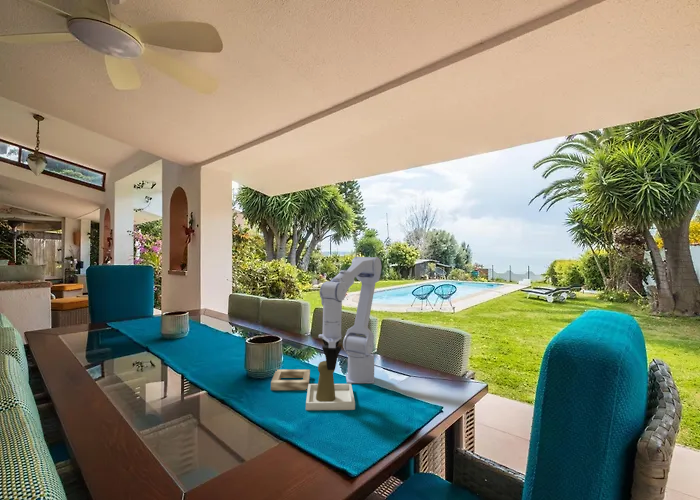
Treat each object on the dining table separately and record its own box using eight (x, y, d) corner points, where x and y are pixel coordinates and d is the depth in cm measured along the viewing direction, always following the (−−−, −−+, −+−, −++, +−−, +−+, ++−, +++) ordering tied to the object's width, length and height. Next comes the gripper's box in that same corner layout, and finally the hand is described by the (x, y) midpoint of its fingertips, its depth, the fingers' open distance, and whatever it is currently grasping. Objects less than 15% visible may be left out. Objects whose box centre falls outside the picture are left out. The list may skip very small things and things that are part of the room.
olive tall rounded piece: (330, 403, 99) (331, 366, 99) (312, 400, 101) (313, 363, 101) (338, 395, 104) (339, 360, 104) (321, 392, 106) (321, 357, 107)
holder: (309, 376, 121) (310, 369, 121) (308, 390, 109) (308, 382, 109) (276, 376, 120) (276, 369, 120) (270, 390, 108) (270, 382, 108)
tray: (351, 389, 110) (351, 383, 110) (354, 409, 96) (355, 402, 96) (308, 390, 109) (308, 383, 109) (305, 410, 95) (305, 403, 95)
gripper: (319, 316, 110) (318, 357, 110) (318, 325, 96) (317, 373, 95) (340, 316, 111) (339, 357, 110) (343, 326, 96) (342, 373, 96)
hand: (330, 365), depth 103 cm, fingers open, 7 cm apart
